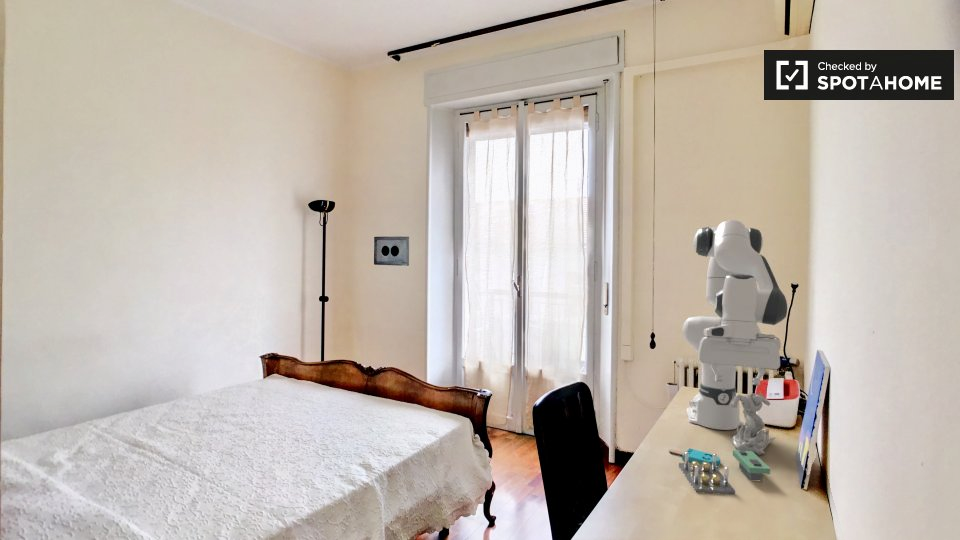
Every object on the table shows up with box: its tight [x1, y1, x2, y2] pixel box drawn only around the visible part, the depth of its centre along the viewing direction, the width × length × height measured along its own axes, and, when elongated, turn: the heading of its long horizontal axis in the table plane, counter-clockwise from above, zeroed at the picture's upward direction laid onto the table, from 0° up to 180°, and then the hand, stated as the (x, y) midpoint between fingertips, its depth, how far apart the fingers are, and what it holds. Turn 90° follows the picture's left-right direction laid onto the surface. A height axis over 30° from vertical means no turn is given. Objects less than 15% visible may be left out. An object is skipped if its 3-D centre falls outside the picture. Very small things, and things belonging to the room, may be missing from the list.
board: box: [732, 449, 771, 475], centre depth 150 cm, size 12×6×2 cm, turn 175°
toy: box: [668, 448, 721, 467], centre depth 160 cm, size 7×2×15 cm
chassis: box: [678, 451, 736, 495], centre depth 146 cm, size 16×10×6 cm, turn 175°
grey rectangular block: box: [738, 461, 763, 482], centre depth 150 cm, size 8×3×3 cm, turn 175°
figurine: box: [731, 390, 776, 456], centre depth 170 cm, size 18×13×18 cm
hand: (737, 383), depth 143 cm, fingers open, 8 cm apart
